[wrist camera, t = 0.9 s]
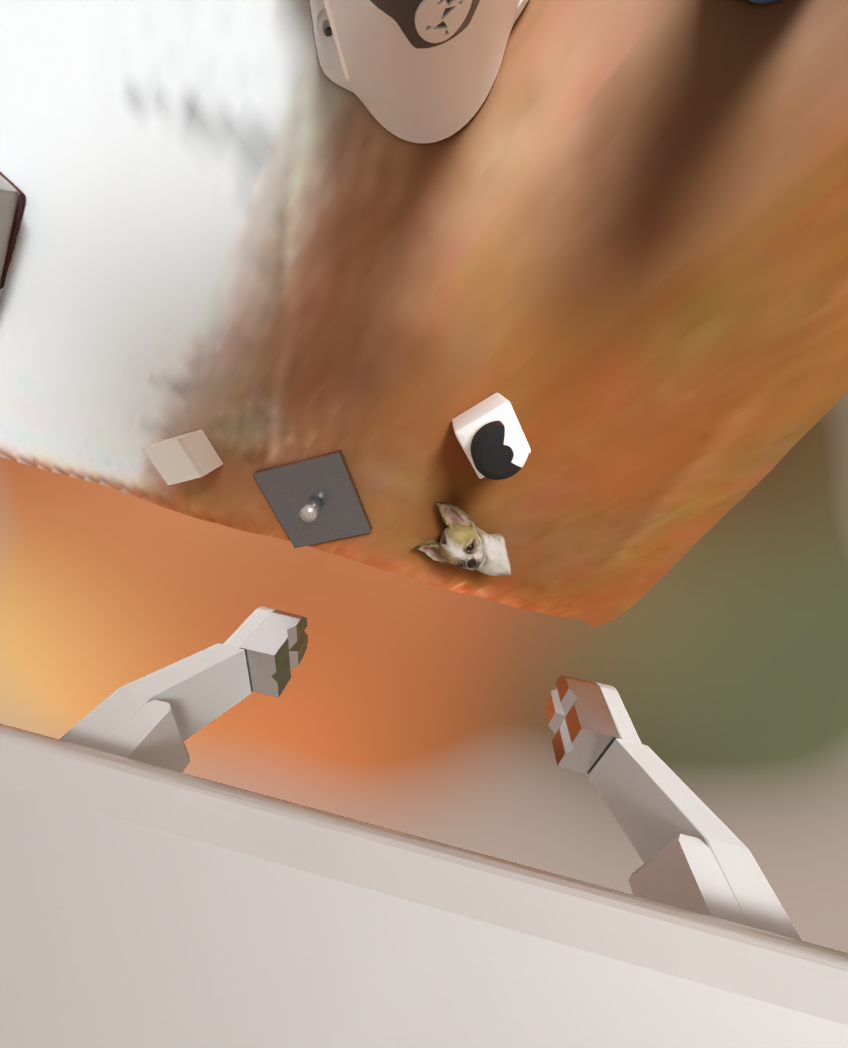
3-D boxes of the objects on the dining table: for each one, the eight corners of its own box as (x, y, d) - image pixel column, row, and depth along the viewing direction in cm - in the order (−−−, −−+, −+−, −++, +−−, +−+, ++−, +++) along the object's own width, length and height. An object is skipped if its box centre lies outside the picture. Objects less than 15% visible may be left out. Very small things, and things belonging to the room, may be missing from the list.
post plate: (256, 471, 47) (240, 483, 43) (341, 450, 45) (332, 460, 41) (297, 544, 54) (287, 560, 50) (372, 528, 52) (367, 543, 48)
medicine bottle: (473, 461, 46) (485, 497, 35) (450, 419, 43) (456, 444, 32) (518, 437, 44) (545, 467, 33) (497, 391, 41) (520, 408, 30)
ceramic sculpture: (495, 604, 49) (408, 572, 47) (489, 570, 56) (413, 541, 54) (532, 554, 44) (436, 515, 42) (519, 525, 51) (438, 491, 49)
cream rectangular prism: (170, 438, 45) (141, 448, 40) (202, 429, 44) (176, 439, 39) (193, 472, 47) (168, 485, 43) (223, 463, 47) (201, 477, 42)
